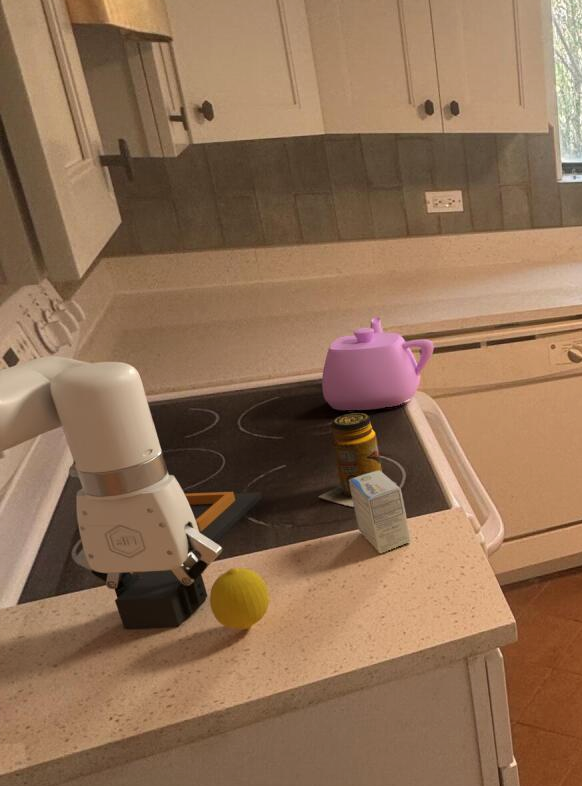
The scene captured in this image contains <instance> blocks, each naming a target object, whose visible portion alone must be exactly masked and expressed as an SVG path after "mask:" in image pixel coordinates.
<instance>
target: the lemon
mask: <svg viewBox="0 0 582 786" xmlns="http://www.w3.org/2000/svg"><path fill="white" fill-rule="evenodd" d="M209 597H210V598H209V603H210V604H209V605H210V608H211V612H212V614H213V616H214V618H215V619H216V621H217V622H218V623H219V624H221V625H222V626H224V627H226V628H228V629H232V630H241V629H243V630H249V629H251V628H252V626H253V625H255V624H257V623H258V622H260V620H262V619H263V617H264V616H265V614H266V613H267V611H268V608H269V605H270V594H269V590H268V587H267V584H266V583H265V581H264V579H263V578H262V576H261V575H260V574H259V573H257V572H256V571H254V570H252V569H249V568H245V567H243V568H242V567H239V568H237V567H236V568H235V567H232V568H231V567H230V568H229V569H228V570H227V571H225V572H223V573H221V574H220V575H219V576H218V577H217V578H216V579H215V581H214V583H213V584H212V586H211V589H210V595H209Z"/></svg>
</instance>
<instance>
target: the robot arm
mask: <svg viewBox="0 0 582 786" xmlns="http://www.w3.org/2000/svg"><path fill="white" fill-rule="evenodd" d="M145 391H146V390H145V389H144V385H143V381H142V378H141V376H140V374H139V372H138V370H137V369H136V367H134V366H132V365H131V364H129V363H127V362H121V361H100V362H88V361H82V360H78V359H75V358H69V357H64V356H55V355H54V356H52V355H51V356H50V355H49V356H43V357H42V356H41V357H38V358H34V359H30V360H27V361H24V362H22V363H19V364H16V365H13V366H10V367H6V368H3V369H0V453H2V452H5V451H7V450H9V449H12V448H14V447H17V446H19V445H21V444H23V443H25V442H28V441H30V440H33V439H35V438H36V437H39V436H41V435H43V434H46V433H48V432H50V431H53V430H56V429H58V428H61V427H62V430H63V433H64V436H65V439H66V443H67V445H68V448H69V452H70V455H71V457H72V460H73V465H71V466H69V468H68V475H69V476H70V477H71V478H78V479H79V481H80V484H81V489H79V490H78V491H77V492H76V518H77V519H76V520H77V526H78V530H79V535H80V536H79V537H80V539H81V544H82V549H81V550H80V551H79V553H78V554H77V555H76V556H75V558H74V562H75V563H76V564H78V565H79V566H81V567H82V568H85V569H86V570H88V571H91V574H93V575H94V576H95V577H97V578H99V579H100V580H102V581H104V582H105V585H106V588H108V589H109V590H114V592H115V595H116V599H117V598H118V597H119V596H120V595H121V594H123V593H124V592H125V591H126V590H127V589H128V588H129V587H130V586H132V585H133V584H134V583H135V582H136V581H137V580H138V579H139V578H140V576H139V574H137V573H146V572H149V571H166V570H171V571H172V572H173V573H174V575H175V576H176V577H177V578H178V579H179V581H180V582H181V584H180V585H179V586H178V591H179V594H180V598H181V601H182V604H183V608H184V611H185V613H186V614H187V615H189V616H191V615H193V614H195V613H196V612H197V611H198V609H200V607H201V606H202V605H203V604H204V603H205V602H206V601H207V600H206V599H207V597H206V592H207V591H206V592H205V589H206V587H205V588H204V585H205V584H204V585H203V582H204V580H203V581H202V578H203V577H202V578H201V575H202V574H203V573H204V572H205V571H206V569H207V568H209V566H210V565H211V564H212V562H214V560H215V559H216V558H217V557H218V556H219V555H220V554H221V553H222V552H223V547H222V546H221V545H220V544H218V543H217V542H213V541H212V540H210V539H209V538H207V537H205V536H204V535H202V534H201V533H199V530H198V526H197V523H196V520H195V518H194V515H193V512H192V510H191V507H190V505H189V503H188V500H187V498H186V496H185V494H186V493H185V492H184V490H183V488H182V487H181V485H180V483H179V482H178V480H177V478H176V477H175V475H173V474H169V471H168V467H167V464H166V461H165V458H164V453H163V450H162V448H161V444H160V440H159V437H158V434H157V430H156V427H155V423H154V419H153V416H152V413H151V410H150V405H149V403H148V399H147V395H146V392H145ZM195 551H197V552H198V553H199V554H200V557H199V558H198V557H197V556H196V555H195V554H194V552H195ZM184 564H185V565H186V566H187V567H186V566H185V565H184ZM187 569H190V570H189V571H188V570H187ZM133 573H136V574H133Z"/></svg>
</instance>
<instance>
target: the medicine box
mask: <svg viewBox="0 0 582 786" xmlns="http://www.w3.org/2000/svg"><path fill="white" fill-rule="evenodd" d="M394 482H395V481H393V480H392V479H390V478H389V477H388V475H386V474H385V473H384V472H383V471H382V472H381V471H375V472H371V473H367V474H364V475H361V476H358V477H355V478H352V479H350V480H349V485H350V491H351V495H352V500H353V504H354V506H353V509H354V513H355V518H356V523H357V527H358V531H360V532H361V533H362V534H363V535H364V536H365V537H364V536H363V535H362V534H361V533H360V532H359V533H360V534H361V535H362V536H363V537H364V538H365V540H366V539H367V540H368V541H369V542H370V543H371V544H372V545H373V546H374V547H375V548H374V547H373V546H372V545H371V544H370V543H369V542H368V541H367V540H366V541H367V542H368V543H369V544H370V545H371V546H372V547H373V548H374V549H375V551H377V553H378V554H379V553H381V554H384V553H386V552H385V551H387V552H389V551H388V550H390V551H392V550H391V549H392V548H395V549H397V548H396V547H398V546H401V545H403V544H405V543H408V542H410V541H411V542H412V539H411V534H410V529H409V524H408V518H407V513H406V508H405V503H404V498H403V493H402V489H401V487H399V486H398V485H397V483H396V482H395V483H396V484H395V483H394ZM411 542H410V543H411ZM403 546H404V545H403ZM401 547H402V546H401ZM398 548H399V547H398ZM383 552H384V553H383Z"/></svg>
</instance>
